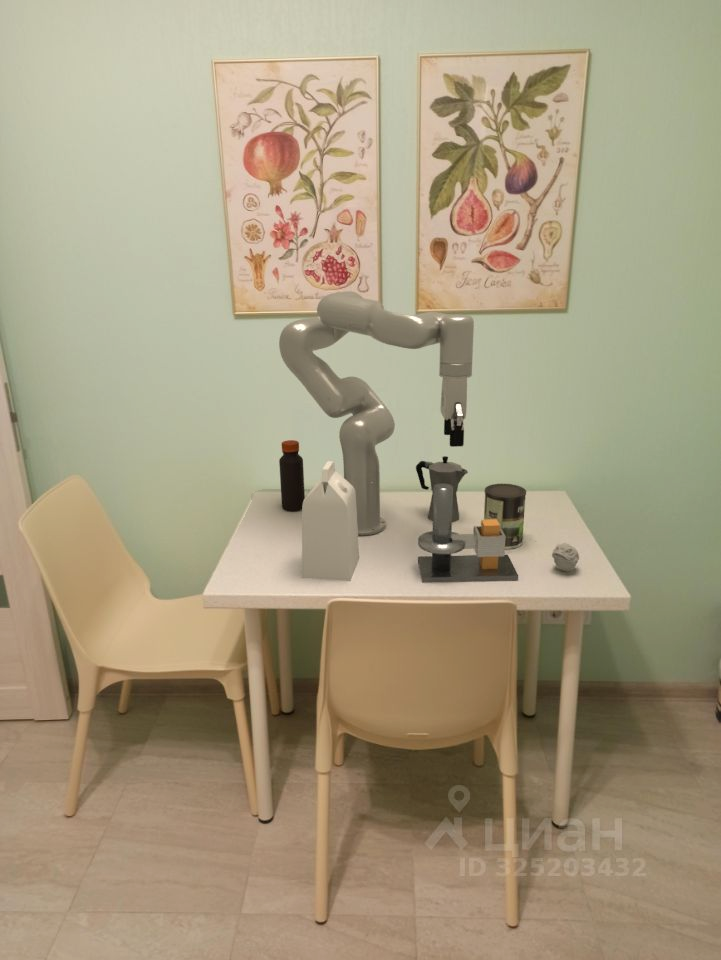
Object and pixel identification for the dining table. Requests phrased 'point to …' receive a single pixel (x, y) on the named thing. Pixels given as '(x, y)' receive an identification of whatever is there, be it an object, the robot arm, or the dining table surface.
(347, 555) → the milk
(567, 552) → the plaster head sculpture
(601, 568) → the dining table surface
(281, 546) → the dining table surface
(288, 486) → the vinegar
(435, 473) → the coffeepot
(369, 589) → the dining table surface
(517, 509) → the coffee can
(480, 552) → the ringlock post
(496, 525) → the orange rectangular block
